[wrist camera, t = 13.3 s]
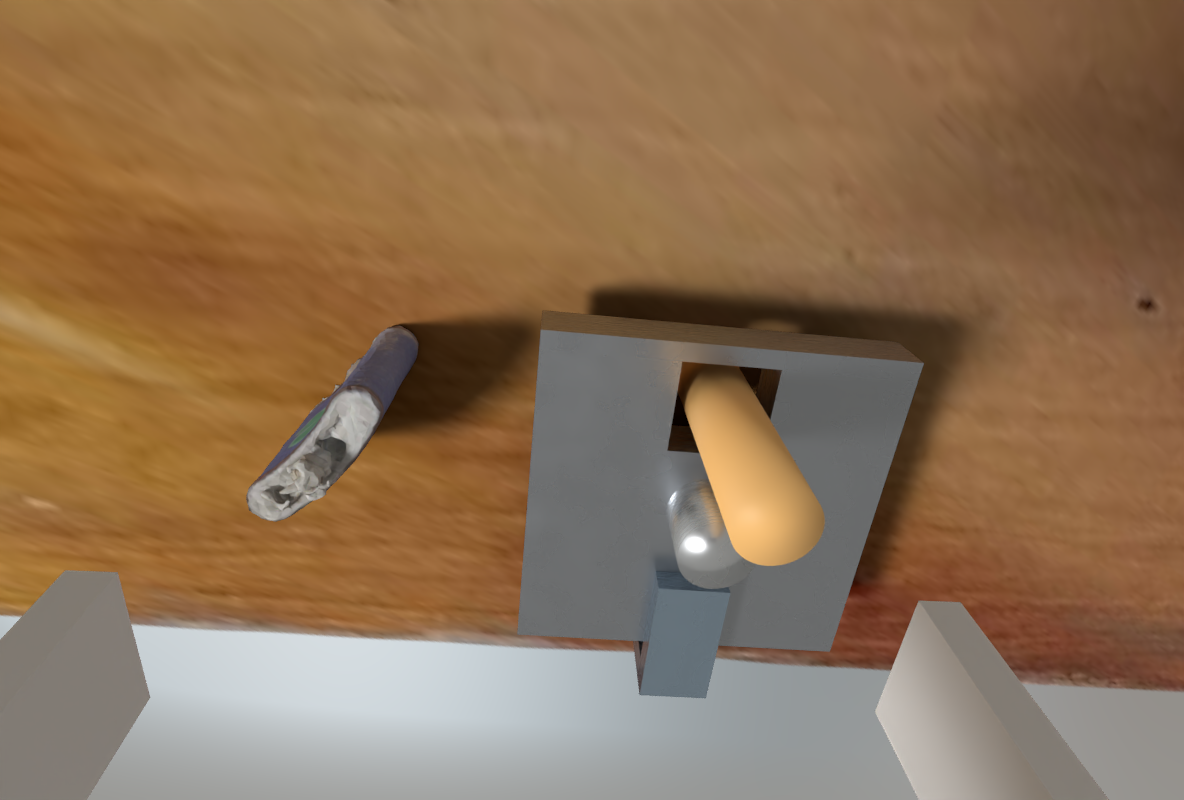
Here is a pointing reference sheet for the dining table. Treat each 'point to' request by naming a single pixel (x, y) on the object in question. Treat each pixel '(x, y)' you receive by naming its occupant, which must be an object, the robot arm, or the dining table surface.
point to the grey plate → (695, 490)
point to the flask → (335, 429)
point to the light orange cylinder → (749, 467)
